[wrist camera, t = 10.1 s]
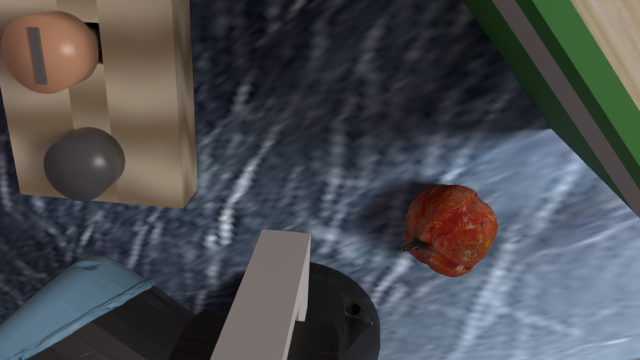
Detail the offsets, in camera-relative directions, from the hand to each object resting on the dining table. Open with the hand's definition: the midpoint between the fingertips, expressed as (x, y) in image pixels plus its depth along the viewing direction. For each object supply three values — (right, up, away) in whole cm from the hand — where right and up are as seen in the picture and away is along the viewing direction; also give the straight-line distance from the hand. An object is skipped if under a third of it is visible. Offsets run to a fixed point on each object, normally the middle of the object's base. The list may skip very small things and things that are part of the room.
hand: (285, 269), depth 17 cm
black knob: (-17, +6, +30) cm, 35 cm away
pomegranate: (+12, 0, +30) cm, 32 cm away
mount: (-16, +15, +26) cm, 34 cm away
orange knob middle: (-16, +14, +24) cm, 32 cm away
